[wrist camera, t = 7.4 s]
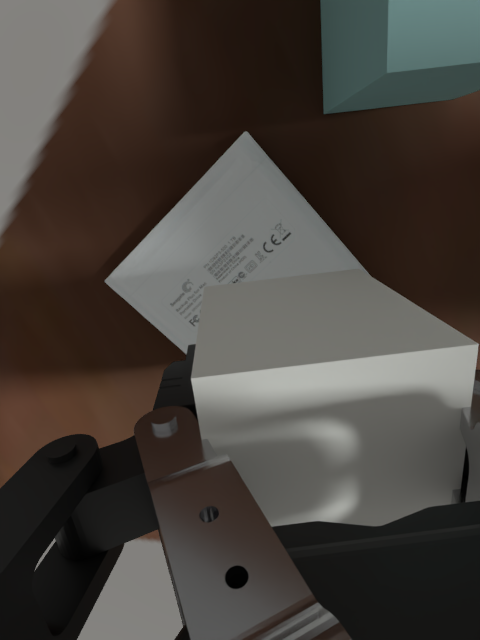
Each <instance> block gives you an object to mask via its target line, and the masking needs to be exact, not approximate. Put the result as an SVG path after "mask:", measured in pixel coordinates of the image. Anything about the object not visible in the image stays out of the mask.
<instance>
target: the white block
mask: <svg viewBox="0 0 480 640" xmlns="http://www.w3.org/2000/svg"><path fill="white" fill-rule="evenodd" d="M478 346H479V344H478V343H476V342H475V341H473V340H472V339H470V338H468V337H467V336H465V335H464V334H462V333H460V332H459V331H457V330H456V329H454V328H452V327H451V326H449V325H448V324H446V323H444V322H443V321H441V320H440V319H438V318H437V317H435V316H433V315H432V314H430V313H429V312H427V311H425V310H424V309H422V308H421V307H419V306H417V305H416V304H414V303H413V302H411V301H409V300H408V299H406V298H405V297H403V296H402V295H400V294H398V293H397V292H395V291H394V290H392V289H390V288H389V287H387V286H386V285H384V284H382V283H381V282H379V281H378V280H376V279H375V278H373V277H371V276H370V275H368V274H367V273H365V272H363V271H362V270H360V269H352V270H343V271H334V272H326V273H317V274H309V275H300V276H292V277H283V278H275V279H266V280H257V281H249V282H240V283H232V284H223V285H215V286H206V287H204V291H203V298H202V305H201V312H200V319H199V326H198V333H197V340H196V347H195V354H194V361H193V367H192V374H191V382H192V388H193V393H194V399H195V405H196V411H197V417H198V422H199V428H200V434H201V440H202V439H208V441H209V442H210V444H211V446H212V448H213V449H214V451H215V453H216V455H217V456H219V455H222V454H226V455H227V456H228V457H229V458H230V460H231V461H232V463H233V465H234V466H235V468H236V469H237V471H238V473H239V474H240V476H241V478H242V479H243V481H244V483H245V484H246V486H247V487H248V489H249V491H250V492H251V494H252V496H253V497H254V499H255V501H256V502H257V504H258V506H259V507H260V509H261V510H262V512H263V514H264V515H265V517H266V519H267V520H268V522H269V524H270V525H271V527H273V526H281V525H289V524H297V523H305V522H313V521H323V522H334V523H344V524H355V525H365V526H382V525H385V524H388V523H390V522H393V521H395V520H398V519H400V518H403V517H405V516H408V515H410V514H413V513H415V512H418V511H420V510H423V509H425V508H428V507H433V506H441V505H449V504H451V499H452V490H455V489H461V483H462V475H463V466H464V458H465V450H466V445H465V442H464V439H463V436H462V434H461V431H460V420H461V411H462V408H464V407H471V402H472V394H473V386H474V378H475V370H476V362H477V354H478Z"/></svg>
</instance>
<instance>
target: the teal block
mask: <svg viewBox="0 0 480 640" xmlns="http://www.w3.org/2000/svg"><path fill="white" fill-rule="evenodd" d="M320 2H321V38H322V74H323V111H324V114H331V113H339V112H348V111H357V110H365V109H374V108H383V107H392V106H400V105H409V104H418V103H427V102H435V101H444V100H453V99H456V98H459V97H461V96H464V95H467V94H470V93H473V92H476V91H478V90H480V0H320Z"/></svg>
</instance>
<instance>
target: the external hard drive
mask: <svg viewBox="0 0 480 640" xmlns="http://www.w3.org/2000/svg"><path fill="white" fill-rule="evenodd" d="M352 269H360V270H362V271H363V272H365V273H367V274H368V275H370V274H369V273H368V272H367V271H366V270H365V268H364V267H363V266H362V265H361V264H360V263H359V262H358V260H357V259H356V258H355V257H354V256H353V255H352V253H351V252H350V251H349V250H348V249H347V247H346V246H345V245H344V244H343V243H342V242H341V240H340V239H339V238H338V237H337V236H336V235H335V233H334V232H333V231H332V230H331V229H330V228H329V226H328V225H327V224H326V223H325V222H324V221H323V219H322V218H321V217H320V216H319V215H318V214H317V212H316V211H315V210H314V209H313V208H312V207H311V205H310V204H309V203H308V202H307V201H306V200H305V198H304V197H303V196H302V195H301V194H300V193H299V191H298V190H297V189H296V188H295V187H294V186H293V184H292V183H291V182H290V181H289V180H288V179H287V178H286V176H285V175H284V174H283V173H282V172H281V171H280V169H279V168H278V167H277V166H276V165H275V164H274V162H273V161H272V160H271V159H270V158H269V157H268V156H267V154H266V153H265V152H264V151H263V150H262V148H261V147H260V146H259V145H258V144H257V143H256V141H255V140H254V139H253V138H252V137H251V136H250V134H249V133H248V132H247V131H245V132H244V133H243V134H242V135H241V136H240V137H239V138H238V139H237V140H236V141H235V142H234V143H233V144H232V146H231V147H230V148H229V149H228V150H227V151H226V152H225V153H224V154H223V155H222V156H221V157H220V158H219V159H218V161H217V162H216V163H215V164H214V165H213V166H212V167H211V168H210V169H209V170H208V171H207V172H206V173H205V175H204V176H203V177H202V178H201V179H200V180H199V181H198V182H197V183H196V184H195V185H194V186H193V187H192V188H191V189H190V190H189V192H188V193H187V194H186V195H185V196H184V197H183V198H182V199H181V200H180V201H179V202H178V203H177V204H176V205H175V206H174V207H173V208H172V210H171V211H170V212H169V213H168V214H167V215H166V216H165V217H164V218H163V219H162V220H161V221H160V222H159V223H158V224H157V225H156V226H155V228H154V229H153V230H152V231H151V232H150V233H149V234H148V235H147V236H146V237H145V238H144V239H143V240H142V241H141V242H140V243H139V244H138V246H137V247H136V248H135V249H134V250H133V251H132V252H131V253H130V254H129V255H128V256H127V257H126V258H125V259H124V260H123V261H122V262H121V263H120V265H119V266H118V267H117V268H116V269H115V270H114V271H113V272H112V273H111V274H110V275H109V276H108V277H107V278H106V280H105V283H106V284H107V285H108V286H109V287H111V288H112V289H113V290H114V291H115V292H116V293H118V294H119V295H120V296H121V297H122V298H123V299H125V300H126V301H127V302H128V303H129V304H130V305H131V306H132V307H133V308H135V309H136V310H137V311H138V312H139V313H140V314H141V315H142V316H144V317H145V318H146V319H147V320H148V321H149V322H150V323H152V324H153V325H154V326H155V327H156V328H157V329H158V330H159V331H160V332H162V333H163V334H164V335H165V336H166V337H167V338H168V339H170V340H171V341H172V342H173V343H174V344H175V345H176V346H177V347H179V348H180V349H181V350H182V351H183V352H184V353H185V354H187V349H188V345H192V344H196V340H197V333H198V326H199V319H200V312H201V305H202V298H203V291H204V287H206V286H215V285H223V284H232V283H240V282H249V281H257V280H266V279H275V278H283V277H292V276H300V275H309V274H317V273H326V272H334V271H343V270H352ZM370 276H371V275H370Z"/></svg>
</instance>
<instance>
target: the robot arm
mask: <svg viewBox="0 0 480 640" xmlns="http://www.w3.org/2000/svg"><path fill="white" fill-rule="evenodd" d="M195 347H196V344H192V345H188V349H187V355H186V360H184V361H176V362H173V363H171V364H170V365H169V366H168V367H167V368H166V369H165V370H164V373H163V377H162V381H161V384H160V387H159V388H160V389H159V390H158V394H157V397H156V401H155V404H154V408H153V411H151V412H149V413H147V414H145V415H144V416H143V417H141V418H140V419H139V420H138V421H137V423H136V424H135V427H134V436H132V437H130V438H128V439H126V440H124V441H121V442H118V443H115V444H112V445H109V446H106V447H103V448H100V449H99V448H98V444H97V441H96V439H95V438H93V437H92V436H90V435H86V434H75V435H69V436H65V437H62V438H59V439H57V440H54V441H52V442H50V443H49V444H47V445H45V446H44V447H42V448H41V449H40V450H38V451H37V452H36V453H35V454H34V455H33V456H32V457H31V458H30V459H29V460H28V461H27V462H26V463H25V464H24V465H23V466H22V467H21V468H20V469H19V470H18V471H17V472H16V473H15V474H14V475H13V476H12V477H11V478H10V479H9V480H8V481H7V482H6V483H5V484H4V485H3V486H2V487H1V488H0V640H77V638H78V636H79V634H80V632H81V630H82V628H83V626H84V624H85V622H86V620H87V618H88V617H89V614H90V612H91V611H92V609H93V607H94V605H95V603H96V601H97V599H98V597H99V595H100V593H101V591H102V589H103V587H104V585H105V583H106V581H107V579H108V577H109V575H110V573H111V571H112V569H113V567H114V565H115V564H116V562H117V560H118V557H119V555H120V554H121V552H122V549H123V547H124V543H126V542H128V541H131V540H133V539H136V538H138V537H140V536H143V535H145V534H148V533H150V532H152V531H155V530H157V529H158V532H159V536H160V539H161V543H162V547H163V550H164V555H165V558H166V562H167V566H168V570H169V574H170V577H171V581H172V585H173V589H174V592H175V596H176V600H177V604H178V608H179V612H180V616H181V620H182V624H183V628H182V629H181V631H180V632H179V634H178V636H177V637H176V638H175V640H480V370H475V378H474V386H473V394H472V402H471V407H464V408H462V411H461V420H460V431H461V434H462V436H463V439H464V442H465V445H466V450H465V458H464V466H463V475H462V483H461V489H455V490H452V499H451V504H449V505H441V506H433V507H428V508H425V509H423V510H420V511H418V512H415V513H413V514H410V515H408V516H405V517H403V518H400V519H398V520H395V521H393V522H390V523H388V524H385V525H382V526H365V525H355V524H344V523H334V522H323V521H313V522H305V523H297V524H289V525H281V526H273V527H271V525H270V524H269V522H268V520H267V519H266V517H265V515H264V514H263V512H262V510H261V509H260V507H259V506H258V504H257V502H256V501H255V499H254V497H253V496H252V494H251V492H250V491H249V489H248V487H247V486H246V484H245V483H244V481H243V479H242V478H241V476H240V474H239V473H238V471H237V469H236V468H235V466H234V465H233V463H232V461H231V460H230V458H229V457H228V456H227V455H226V454H222V455H219V456H217V455H216V453H215V451H214V449H213V448H212V446H211V444H210V442H209V441H208V439H202V440H201V434H200V428H199V422H198V417H197V411H196V405H195V399H194V393H193V388H192V382H191V374H192V367H193V361H194V354H195ZM54 538H55V540H56V542H55V543H54V544H53V546H52V547H51V549H50V550H49V552H48V553H47V554H46V556H45V557H44V559H43V560H42V562H41V563H40V565H39V566H38V567H37V569H36V570H35V567H36V565H37V563H38V561H39V559H40V558H41V556H42V555H43V553H44V552H45V550H46V549H47V548H48V546H49V545H50V543H51V542H52V541H53V539H54ZM34 570H35V572H34Z"/></svg>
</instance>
